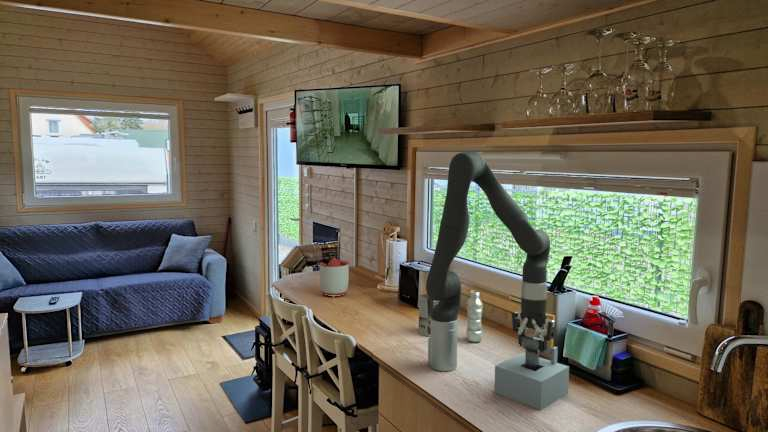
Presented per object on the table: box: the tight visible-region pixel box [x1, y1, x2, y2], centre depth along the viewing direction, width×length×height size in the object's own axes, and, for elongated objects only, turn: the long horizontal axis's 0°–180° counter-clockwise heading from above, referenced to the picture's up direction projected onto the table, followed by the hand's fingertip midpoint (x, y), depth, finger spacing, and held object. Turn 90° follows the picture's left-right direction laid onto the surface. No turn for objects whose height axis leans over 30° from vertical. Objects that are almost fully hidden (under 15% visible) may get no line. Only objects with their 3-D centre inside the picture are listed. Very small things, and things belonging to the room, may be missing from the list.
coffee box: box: [418, 293, 439, 338], centre depth 218 cm, size 9×6×16 cm
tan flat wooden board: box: [538, 313, 556, 354], centre depth 167 cm, size 5×12×2 cm
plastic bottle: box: [465, 289, 484, 343], centre depth 208 cm, size 6×7×20 cm
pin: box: [521, 333, 541, 371], centre depth 163 cm, size 6×6×11 cm
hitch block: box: [493, 346, 570, 411], centre depth 163 cm, size 16×16×14 cm
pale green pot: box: [318, 257, 350, 295], centre depth 278 cm, size 16×17×20 cm
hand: (532, 348), depth 162 cm, fingers closed on pin, 6 cm apart
